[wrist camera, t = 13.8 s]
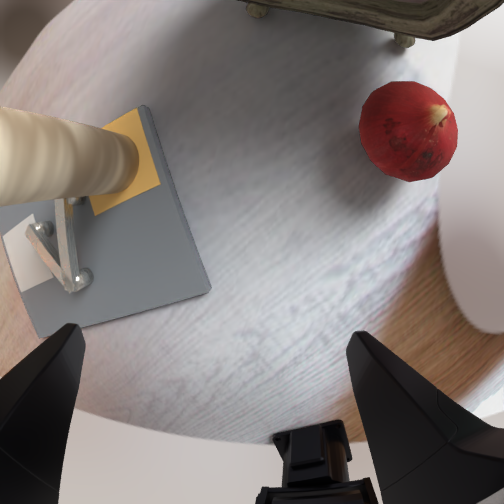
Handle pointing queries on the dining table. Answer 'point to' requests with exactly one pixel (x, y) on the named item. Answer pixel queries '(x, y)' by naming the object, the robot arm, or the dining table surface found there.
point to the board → (111, 245)
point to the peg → (60, 159)
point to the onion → (408, 130)
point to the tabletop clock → (391, 14)
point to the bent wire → (61, 245)
